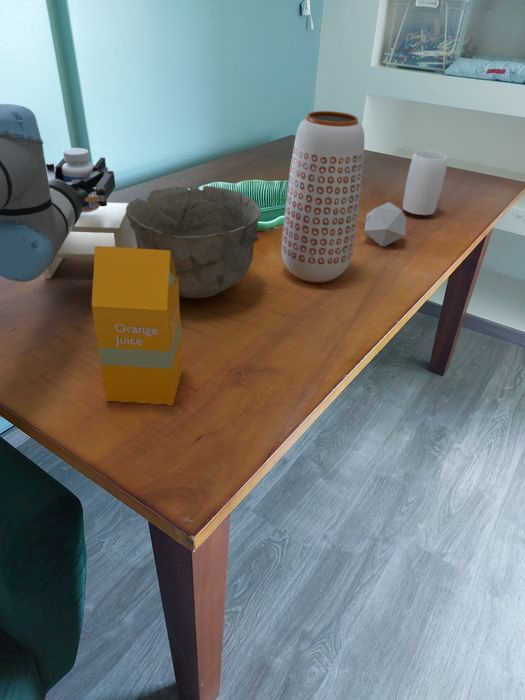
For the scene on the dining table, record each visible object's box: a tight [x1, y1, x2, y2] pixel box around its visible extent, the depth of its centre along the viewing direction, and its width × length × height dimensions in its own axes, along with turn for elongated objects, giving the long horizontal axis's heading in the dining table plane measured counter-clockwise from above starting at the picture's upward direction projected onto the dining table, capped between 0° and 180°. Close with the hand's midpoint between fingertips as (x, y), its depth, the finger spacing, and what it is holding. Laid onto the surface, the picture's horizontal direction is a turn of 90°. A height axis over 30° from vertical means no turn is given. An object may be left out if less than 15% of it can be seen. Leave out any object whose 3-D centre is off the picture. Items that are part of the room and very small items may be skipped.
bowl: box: [126, 185, 262, 299], centre depth 91 cm, size 22×22×15 cm
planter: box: [280, 110, 365, 284], centre depth 94 cm, size 13×13×28 cm
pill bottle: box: [62, 147, 99, 213], centre depth 91 cm, size 6×5×10 cm
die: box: [364, 201, 407, 247], centre depth 114 cm, size 8×9×10 cm
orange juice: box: [91, 246, 183, 406], centre depth 66 cm, size 8×9×20 cm
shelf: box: [43, 201, 135, 279], centre depth 98 cm, size 14×12×10 cm
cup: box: [402, 150, 449, 216], centre depth 128 cm, size 8×8×14 cm
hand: (86, 164), depth 95 cm, fingers closed on pill bottle, 5 cm apart
